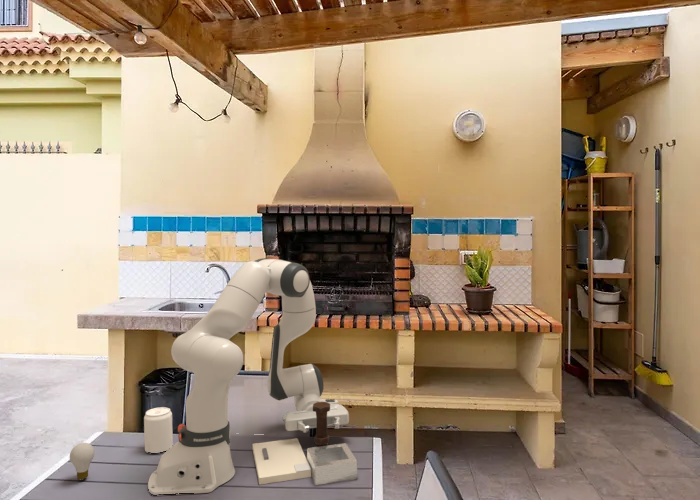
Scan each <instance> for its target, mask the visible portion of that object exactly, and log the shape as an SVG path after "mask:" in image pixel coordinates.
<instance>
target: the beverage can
mask: <svg viewBox="0 0 700 500" xmlns="http://www.w3.org/2000/svg"><path fill="white" fill-rule="evenodd" d="M143 425H144V426H143V431H144V433H143V434H144V436H143V437H144V451H145V452H146V451H147V452H146V453H148V452H151V453H157V452H163V451H166V450H168V449H169V448H171V447H172V445H174V442H173V441H174V440H173V439H174V438H173V435H174V434H173V413H172V411H171V408H169V407H165V406H161V407H155V408H151V409H148V410H146V411H145V415H144V417H143ZM151 453H150V454H151ZM163 453H164V452H163Z"/></svg>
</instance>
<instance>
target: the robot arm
mask: <svg viewBox="0 0 700 500" xmlns="http://www.w3.org/2000/svg"><path fill="white" fill-rule="evenodd" d="M313 289H314V288H313V284H312V282H311V278H310V274H309V270H308V269H307V268H306V267H305V265H302V264H300V263H297V262H291V261H288V260H284V259H280V258H279V259H277V258H267V257H265V258H259V259H256V260H253V261H251V260H249V261H246V262H244V263H243V264H242V265H241V267H240V268H239V269H237V270H236V272H235V273H234V274H233V275H232V277H231V278H230V280H229V281H228V283H227V284H226V285H225V287H224V288H223V290H222V291H221V293H220V295H219V296H218V297H217V299H216V300H215V302H214V304H213V305H212V307H210V309H209V311H207V313H205V314H204V316H203V317H202V318H201V319H200V320H199V321H198V322H197V323H195V324H194V326H192V328H190V329H189V330H188V331H186V332H184V333H183V334H180V335H179V336H178V337H176V338H175V339H174V341H173V343H172V345H171V350H170V352H171V353H170V354H171V357H172V360H173V361H174V362H175V364H176V365H178V367H180V368H181V369H182V370H184V371H187V372H189V373H193V374H194V383H193V388H192V391H191V392H190V393H189V394H188V396H187V397H186V399H185V417H186V418H185V422H186V425H185V424H184V423H180V424H179V425H178V426H177V432H178V441H177V442H176V443H175V444H173V446H172V447H171V448H170V449H168V450H167V451H166V452H163V453H162V456H161V457H160V459H159V462H158V464H157V468H156V470H154V471H153V472H152V473H151V475H150V476H149V478H148V482H147V490H148V489H149V491H150V492H151V493H153V494H172V493H174V494H175V493H178V494H177V495H180V494H179V493H194V494H208V493H212V492H213V491H214V490H215V489H217V488H218V487H219V486H221V485H223V484H226V483H228V482H229V481H230V480H231V479H233V477H235V476H234V475H236V470H235V466H234V463H233V459H232V454H231V448H230V447H231V446H230V443H231V425H230V421H229V393H230V389H231V386H232V381H233V380H234V378H235V377H236V376H238V374H239V373H240V372H241V370H242V368H243V364H244V353H243V351H242V349H241V348H240V347H239V346H238V345H237V344H236V343H234V342H233V341H231V340H230V339H231V338H232V337H233V336H235V335H236V334H238V333H240V332H242V331H243V330H245V328H246V327H247V326H248V325H249V323H250V321H251V320H252V318H253V316H254V314H255V313H256V311H257V309H258V308H259V306H260V304H261V302H262V300H263V298H264V296H265V294H266V293H268V294H271V295H273V296H274V295H275V296H280V297H281V307H282V312H281V313H282V314H281V318H280V320H279V322H278V324H276V325H275V326H274V329H273V333H272V340H271V350H270V360H269V371H268V377H267V383H266V387H267V392H268V394H269V396H270V397H271V398H273V399H274V400H276V401H283V400H286V399H288V398H293V404H294V407H295V410H294V411H287V412H286V413H285V415H282V416H281V419H282V421H283V422H284V423H285V425H284V427H285V430H286V431H288V432H294V431H302V432H303V433H309V429H310V430H311V429H316V426H317V421H316V412H314V411H313V404H314V403H316V402H328V403H329V404H330V411H328V412H327V427H333V429H334V430H336V429H340V426H342V425H347V424H349V422H350V414H349V411H348V410H347V408H346V407H345V406H343V405H342V404H339V400H337V399H324V398H321V396H322V395H323V392H324V378H323V375H322V372H321V370H320V368H318V366H316V365H315V364H314V363H308V364H306V363H305V364H301V365H297V366H291V367H288V368H287V367H286V368H283V367H284V354H285V349H286V348H287V346H288V345H289V343H291V342H292V341H294V340H295V339H297V338H299V337H301V336H303V335H304V334H306V333H308V331H310V330H311V329H312V327H313V326H314V324H315V323H316V319H317V316H316V315H317V314H316V313H317V311H316V309H317V307H316V299H315V293H314V290H313ZM149 491H148V492H149Z"/></svg>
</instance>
